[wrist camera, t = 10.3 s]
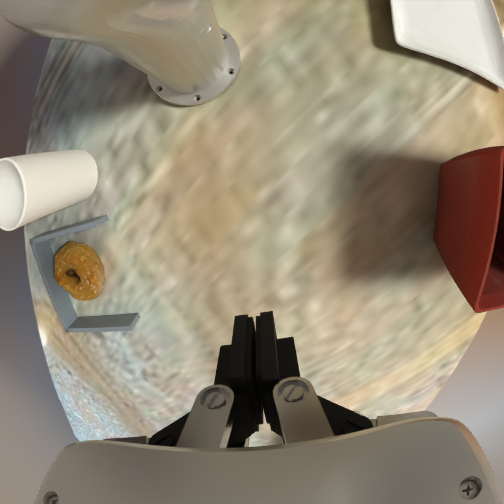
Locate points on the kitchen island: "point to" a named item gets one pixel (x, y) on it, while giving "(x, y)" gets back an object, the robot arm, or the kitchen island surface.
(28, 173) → the cup
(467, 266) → the plant pot
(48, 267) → the box
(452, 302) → the kitchen island surface
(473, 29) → the square plate
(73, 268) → the bagel
